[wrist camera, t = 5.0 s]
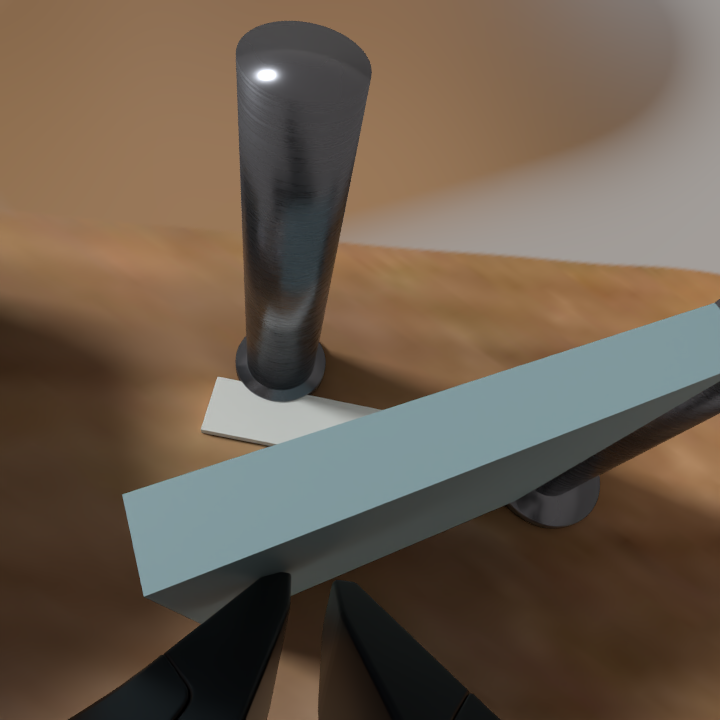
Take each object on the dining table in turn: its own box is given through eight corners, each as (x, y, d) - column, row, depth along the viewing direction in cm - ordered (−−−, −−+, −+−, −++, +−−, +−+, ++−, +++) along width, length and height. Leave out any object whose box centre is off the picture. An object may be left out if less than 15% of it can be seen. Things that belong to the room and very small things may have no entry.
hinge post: (613, 476, 19) (988, 293, 9) (554, 554, 18) (940, 428, 8) (530, 400, 20) (790, 160, 10) (466, 465, 19) (706, 253, 9)
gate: (497, 468, 18) (715, 302, 10) (514, 500, 18) (760, 358, 9) (201, 585, 15) (121, 495, 6) (212, 629, 14) (143, 596, 6)
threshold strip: (478, 433, 19) (481, 430, 19) (477, 486, 18) (480, 483, 18) (218, 380, 18) (217, 376, 18) (201, 432, 17) (200, 429, 17)
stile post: (341, 371, 20) (428, 82, 10) (274, 422, 18) (294, 145, 8) (286, 314, 20) (313, -7, 10) (217, 359, 19) (173, 37, 9)
